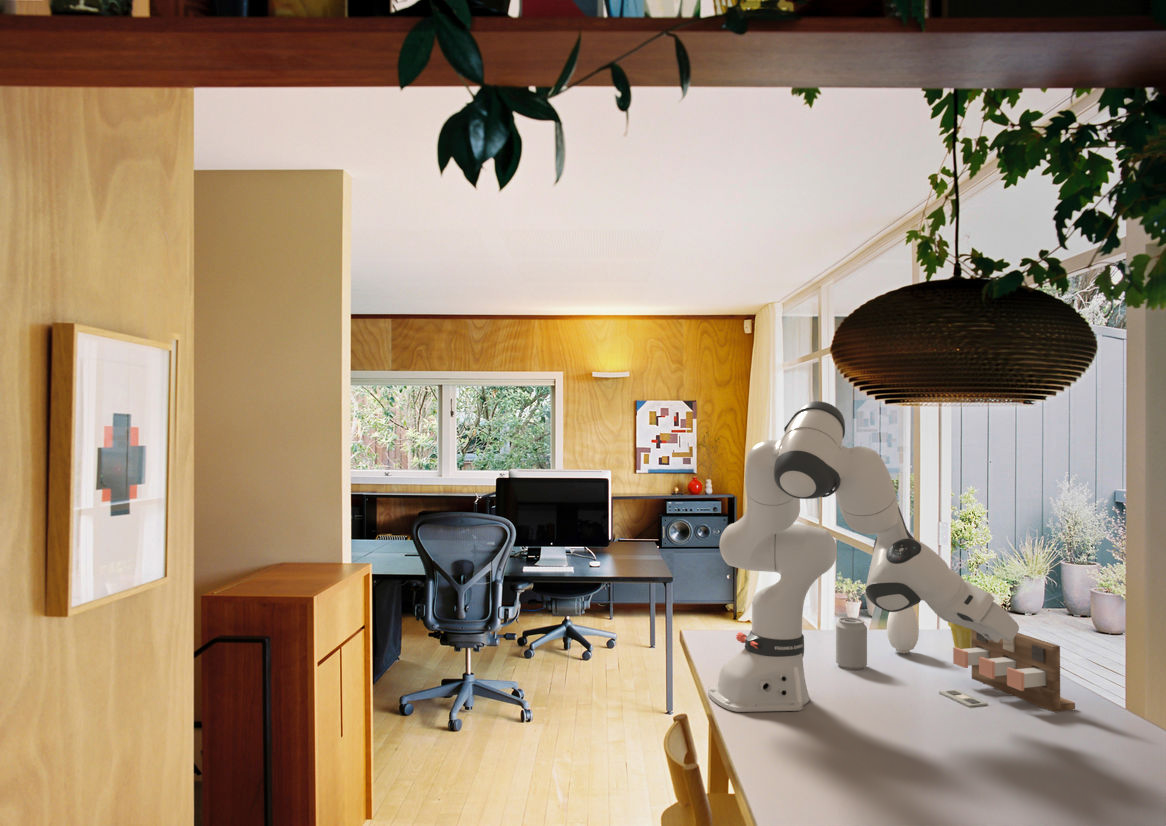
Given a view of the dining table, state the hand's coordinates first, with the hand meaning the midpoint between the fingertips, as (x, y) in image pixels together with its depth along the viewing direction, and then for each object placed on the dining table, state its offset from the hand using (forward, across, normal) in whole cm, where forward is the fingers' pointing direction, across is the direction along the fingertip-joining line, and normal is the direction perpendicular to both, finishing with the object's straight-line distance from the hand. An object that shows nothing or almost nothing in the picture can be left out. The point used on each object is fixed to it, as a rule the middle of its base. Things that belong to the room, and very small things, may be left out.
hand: (994, 638), depth 161 cm
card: (+11, -11, -12) cm, 20 cm away
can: (+3, -38, -18) cm, 42 cm away
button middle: (+16, -11, -1) cm, 20 cm away
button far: (+16, -19, -1) cm, 25 cm away
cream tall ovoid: (+19, -45, -5) cm, 49 cm away
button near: (+17, -3, -1) cm, 17 cm away
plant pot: (+33, -43, +8) cm, 55 cm away
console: (+23, -11, -1) cm, 26 cm away
